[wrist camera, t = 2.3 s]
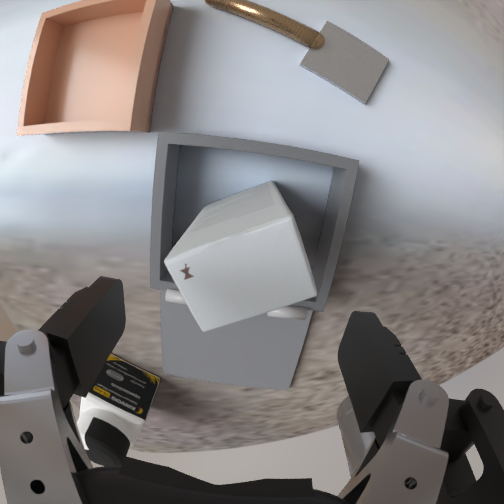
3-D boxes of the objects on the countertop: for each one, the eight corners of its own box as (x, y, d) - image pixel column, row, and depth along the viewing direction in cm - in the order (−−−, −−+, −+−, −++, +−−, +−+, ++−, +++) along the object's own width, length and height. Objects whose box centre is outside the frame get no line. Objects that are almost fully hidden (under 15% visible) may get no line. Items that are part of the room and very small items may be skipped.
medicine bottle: (161, 376, 31) (132, 460, 19) (147, 406, 33) (122, 479, 22) (106, 349, 29) (61, 425, 18) (99, 382, 32) (63, 450, 21)
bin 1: (173, 6, 17) (160, -14, 14) (149, 132, 21) (130, 130, 18) (64, 23, 17) (41, 13, 13) (43, 134, 21) (16, 136, 17)
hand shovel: (192, 20, 18) (188, 13, 16) (222, -20, 16) (220, -28, 15) (363, 103, 20) (370, 101, 19) (386, 61, 19) (394, 56, 17)
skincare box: (224, 250, 25) (199, 335, 14) (204, 204, 24) (158, 259, 12) (292, 226, 24) (321, 298, 13) (274, 178, 23) (292, 210, 12)
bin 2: (345, 158, 22) (363, 161, 18) (288, 386, 31) (290, 414, 26) (172, 133, 22) (154, 131, 18) (164, 370, 30) (154, 396, 26)
